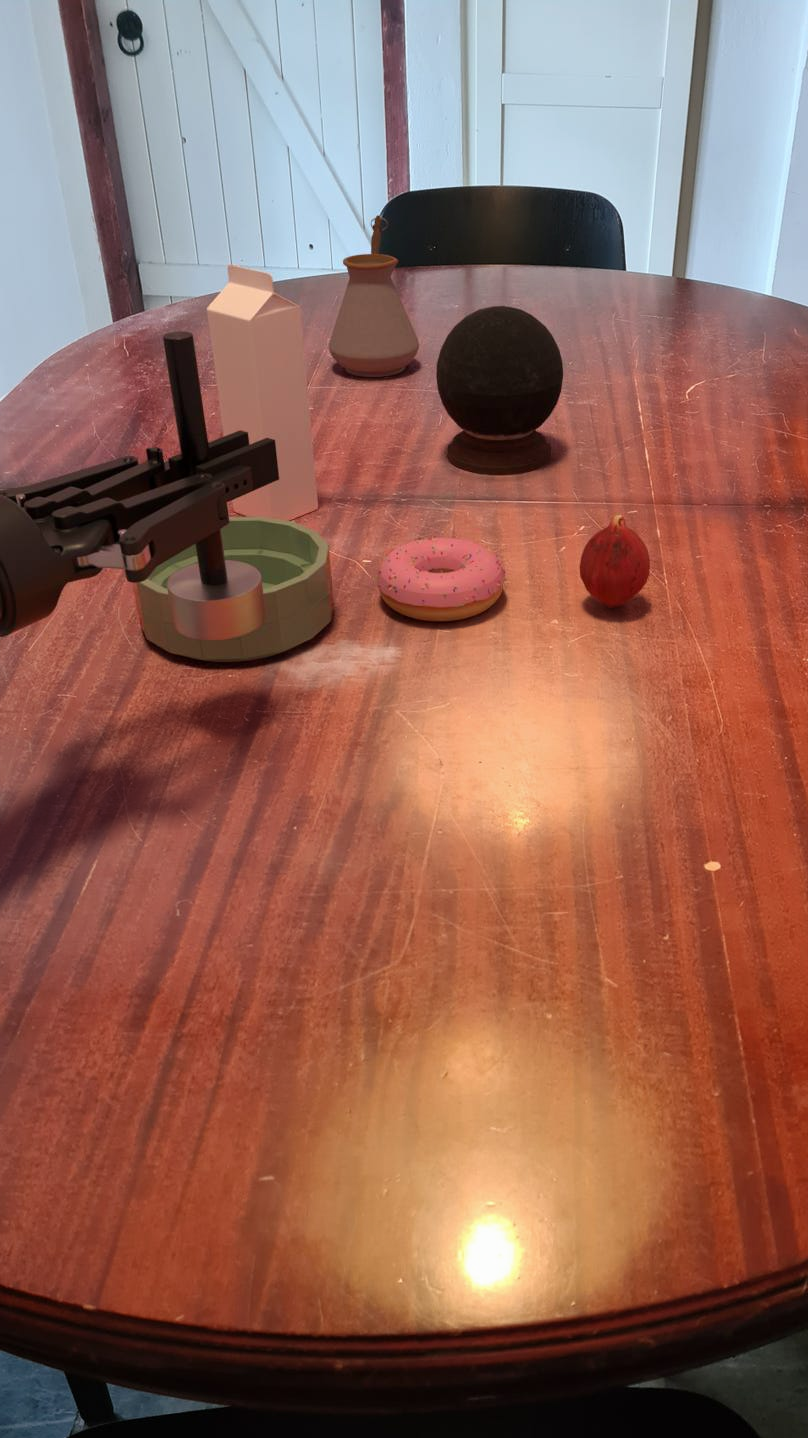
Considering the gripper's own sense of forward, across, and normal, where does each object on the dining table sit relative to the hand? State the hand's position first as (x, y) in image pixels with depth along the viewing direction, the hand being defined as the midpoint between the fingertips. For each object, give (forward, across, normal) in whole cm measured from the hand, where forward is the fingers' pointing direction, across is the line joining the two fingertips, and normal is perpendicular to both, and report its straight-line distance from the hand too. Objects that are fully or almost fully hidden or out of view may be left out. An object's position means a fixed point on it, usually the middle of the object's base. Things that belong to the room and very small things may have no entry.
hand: (259, 455), depth 84 cm
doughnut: (+18, +1, -18) cm, 26 cm away
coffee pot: (+69, -49, -18) cm, 87 cm away
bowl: (+5, -10, -18) cm, 21 cm away
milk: (+24, -24, -18) cm, 39 cm away
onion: (+25, +14, -18) cm, 34 cm away
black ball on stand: (+49, -15, -18) cm, 54 cm away
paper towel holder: (-6, 0, -10) cm, 11 cm away
